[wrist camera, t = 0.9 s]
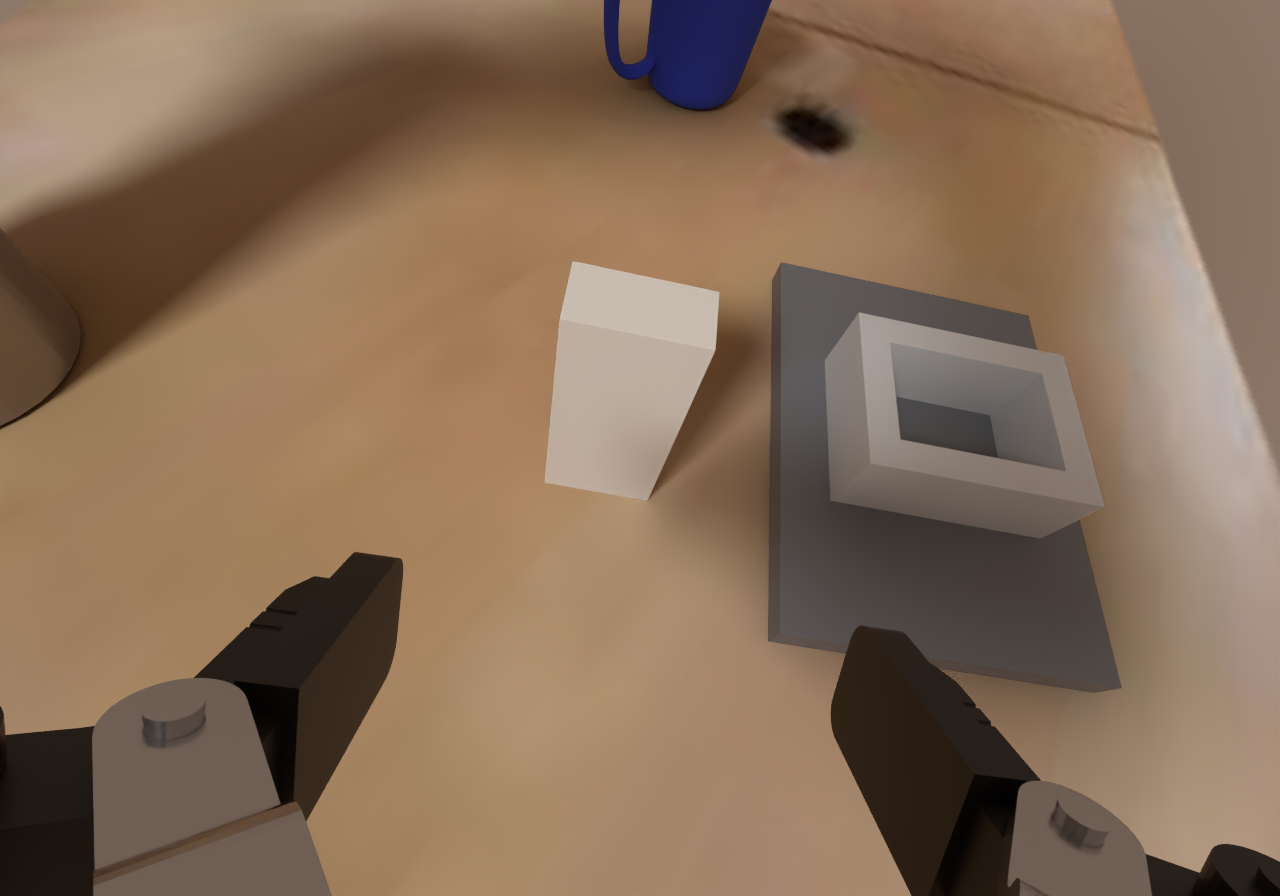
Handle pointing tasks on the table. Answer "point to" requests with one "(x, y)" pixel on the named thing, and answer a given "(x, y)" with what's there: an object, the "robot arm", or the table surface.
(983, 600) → the block insertion holder
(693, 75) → the mug
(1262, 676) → the table surface
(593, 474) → the rectangular block
